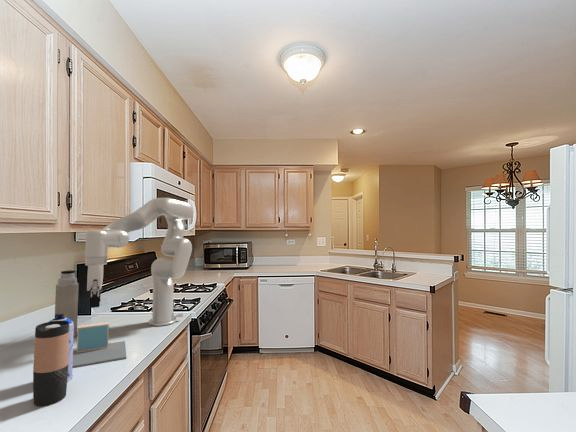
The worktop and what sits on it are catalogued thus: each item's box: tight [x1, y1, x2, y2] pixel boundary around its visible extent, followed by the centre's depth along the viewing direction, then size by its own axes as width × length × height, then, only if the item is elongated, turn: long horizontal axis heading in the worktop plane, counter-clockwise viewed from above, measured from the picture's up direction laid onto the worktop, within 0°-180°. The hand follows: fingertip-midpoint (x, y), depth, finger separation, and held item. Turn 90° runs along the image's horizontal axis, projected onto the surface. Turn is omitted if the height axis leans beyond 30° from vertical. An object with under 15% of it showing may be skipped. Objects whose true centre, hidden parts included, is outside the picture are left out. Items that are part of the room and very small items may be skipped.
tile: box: [76, 321, 110, 353], centre depth 119 cm, size 10×3×9 cm, turn 119°
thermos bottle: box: [54, 269, 79, 338], centre depth 134 cm, size 8×8×28 cm
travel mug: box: [32, 321, 69, 407], centre depth 86 cm, size 8×8×20 cm
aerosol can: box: [48, 313, 74, 383], centre depth 96 cm, size 8×8×20 cm
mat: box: [72, 340, 127, 369], centre depth 115 cm, size 22×18×1 cm
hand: (95, 304), depth 126 cm, fingers open, 8 cm apart
